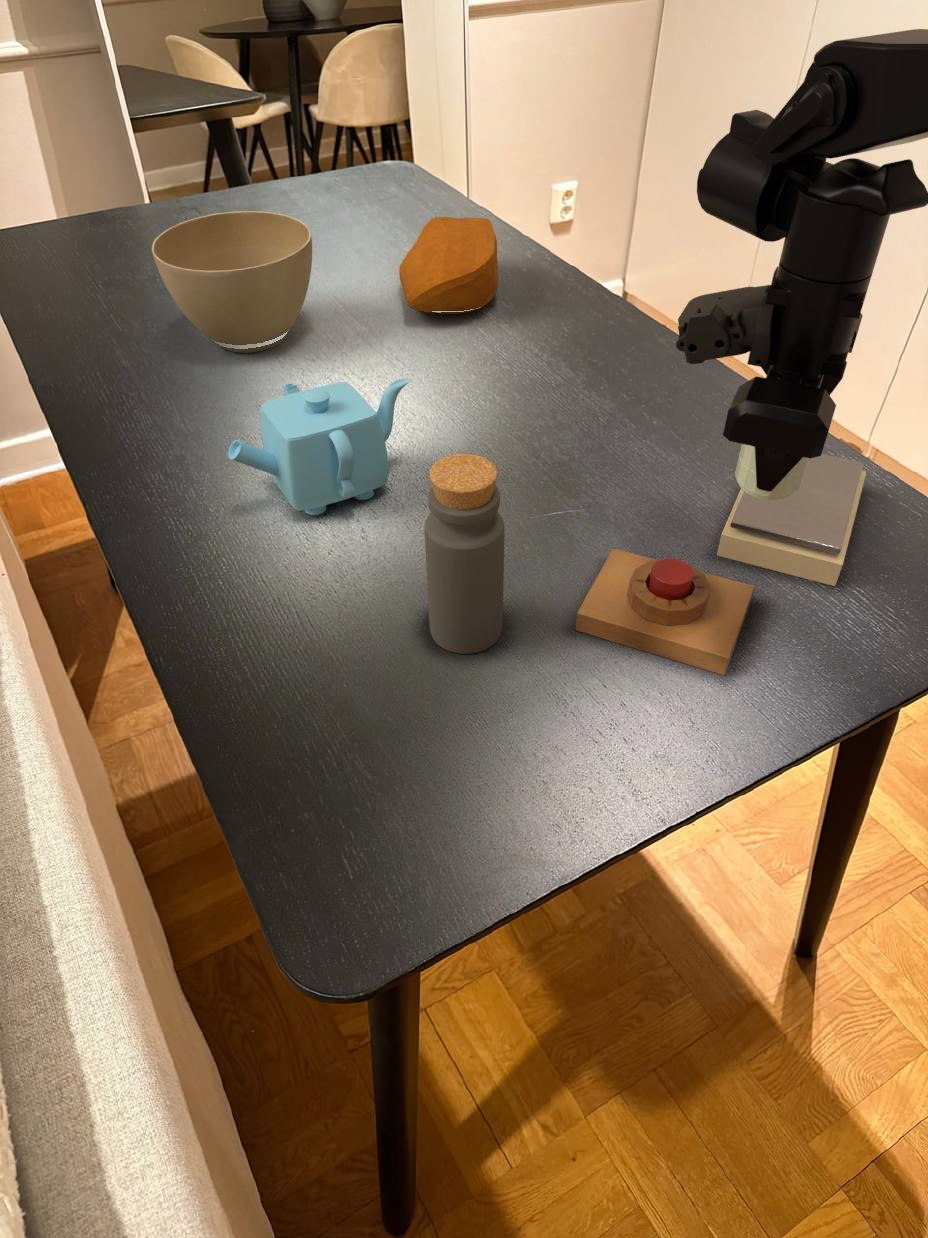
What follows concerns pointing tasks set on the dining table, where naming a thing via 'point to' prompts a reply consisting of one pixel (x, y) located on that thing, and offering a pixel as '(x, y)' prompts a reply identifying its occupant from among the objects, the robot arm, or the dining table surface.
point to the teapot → (323, 444)
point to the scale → (786, 549)
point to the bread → (451, 266)
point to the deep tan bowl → (237, 274)
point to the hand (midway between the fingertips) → (770, 470)
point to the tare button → (671, 579)
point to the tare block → (665, 613)
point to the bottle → (464, 554)
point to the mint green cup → (748, 477)
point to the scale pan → (807, 506)
